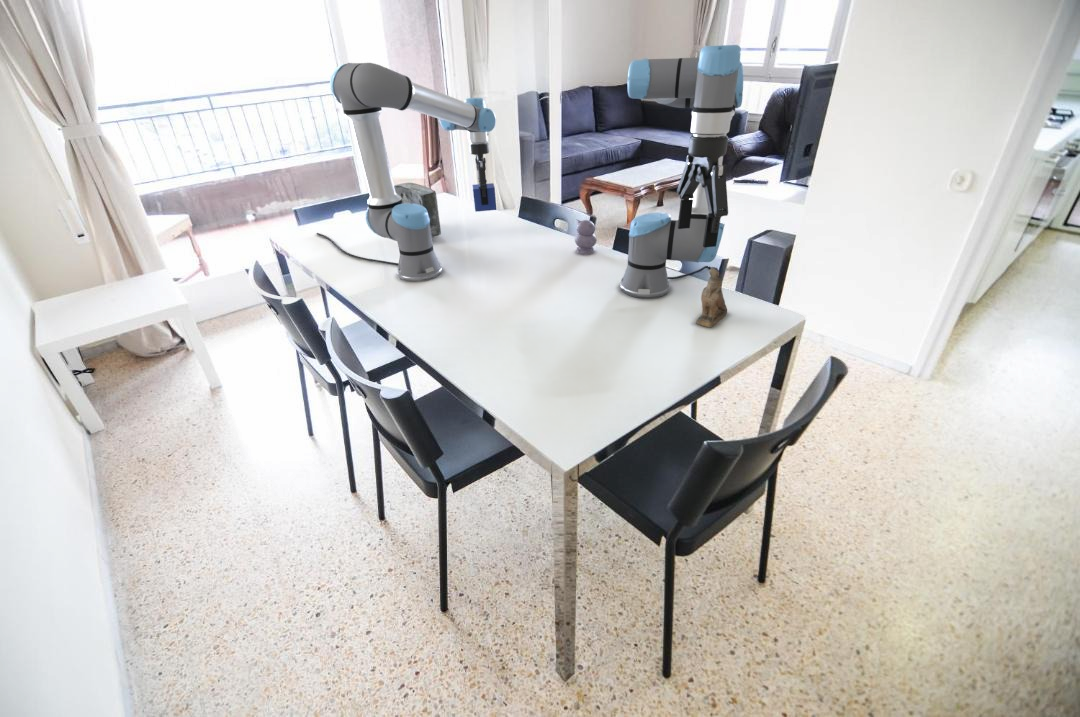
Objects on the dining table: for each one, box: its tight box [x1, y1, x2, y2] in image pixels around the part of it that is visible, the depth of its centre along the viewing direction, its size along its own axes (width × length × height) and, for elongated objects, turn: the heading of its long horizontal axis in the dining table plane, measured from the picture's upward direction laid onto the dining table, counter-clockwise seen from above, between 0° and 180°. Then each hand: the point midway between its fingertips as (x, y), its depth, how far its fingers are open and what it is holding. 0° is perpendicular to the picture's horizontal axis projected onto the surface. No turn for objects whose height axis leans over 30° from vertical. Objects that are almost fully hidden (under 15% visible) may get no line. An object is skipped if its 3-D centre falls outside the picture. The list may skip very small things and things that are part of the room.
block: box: [471, 182, 497, 212], centre depth 204 cm, size 9×8×9 cm
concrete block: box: [394, 182, 442, 239], centre depth 208 cm, size 27×9×20 cm, turn 36°
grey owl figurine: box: [574, 219, 598, 256], centre depth 186 cm, size 8×8×12 cm
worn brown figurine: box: [695, 266, 728, 328], centre depth 135 cm, size 12×6×18 cm, turn 136°
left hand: (484, 201), depth 205 cm, fingers closed on block, 8 cm apart
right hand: (695, 237), depth 112 cm, fingers open, 13 cm apart
